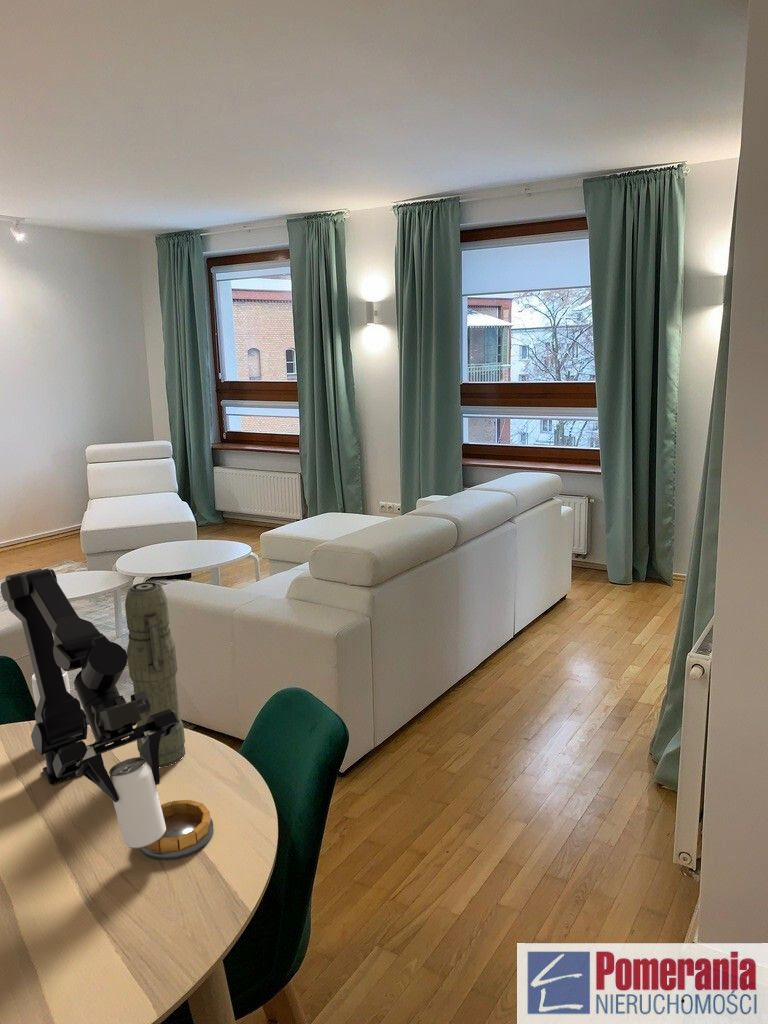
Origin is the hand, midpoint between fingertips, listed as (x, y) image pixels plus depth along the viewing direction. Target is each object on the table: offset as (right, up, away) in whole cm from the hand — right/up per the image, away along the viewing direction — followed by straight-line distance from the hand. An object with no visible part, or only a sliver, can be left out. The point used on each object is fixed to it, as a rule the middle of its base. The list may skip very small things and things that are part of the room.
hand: (137, 792), depth 118 cm
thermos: (-6, -5, +34) cm, 35 cm away
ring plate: (+4, -10, +9) cm, 14 cm away
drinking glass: (-29, -4, +40) cm, 50 cm away
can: (+1, -8, +2) cm, 8 cm away
